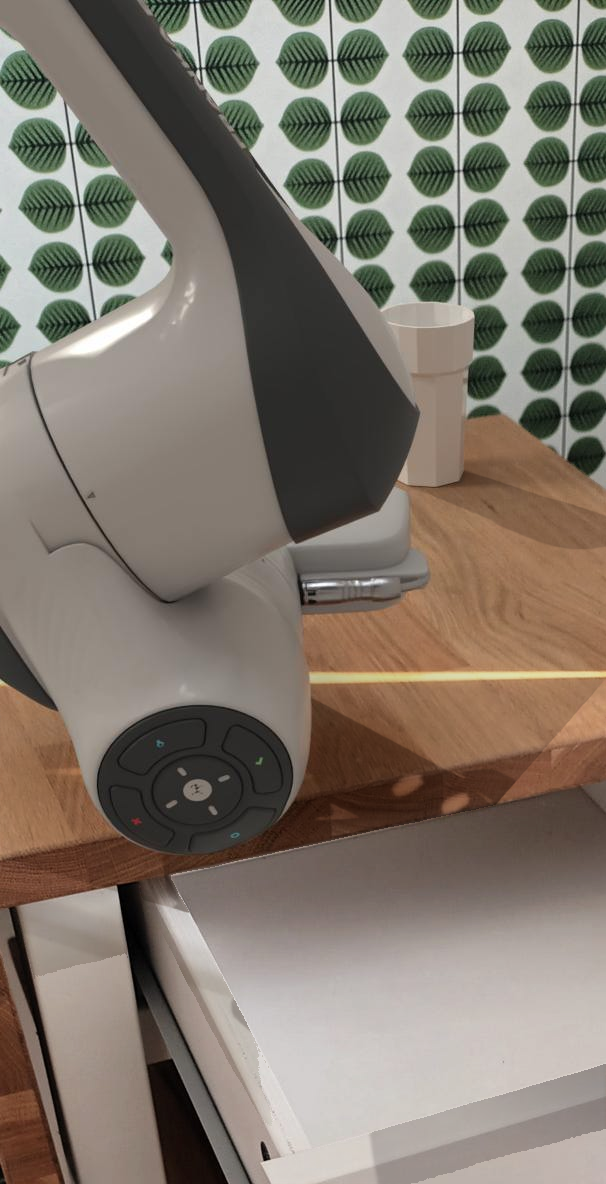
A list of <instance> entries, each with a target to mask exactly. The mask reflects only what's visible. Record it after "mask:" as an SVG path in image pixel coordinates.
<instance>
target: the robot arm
mask: <svg viewBox="0 0 606 1184" xmlns="http://www.w3.org/2000/svg"><path fill="white" fill-rule="evenodd" d="M0 28H1V29H2V30H4V31H5V32H6V33H7V34H9V35H10V36H11V37H12V38H14V39H15V40H16V42H17V43H19V45H20V46H22V48H23V49H24V50H25V51H26V53H27V54H28V55H29V56H30V57H31V59H32V60H33V61H34V62H35V63H36V65H37V66H38V67H39V69H40V70H41V72H42V73H43V74H44V76H45V78H47V80H48V81H49V82H50V84H51V85H52V86H53V88H54V89H55V90H56V92H57V93H58V94H59V96H60V97H61V98H62V100H63V101H64V103H65V105H67V107H68V108H69V109H70V111H71V112H72V113H73V115H74V116H75V117H76V119H77V120H78V121H79V123H80V125H82V127H83V128H84V129H85V131H86V132H87V134H88V135H89V137H90V138H91V139H92V141H94V143H95V144H96V145H97V147H98V149H99V150H100V151H101V153H102V154H103V155H104V156H105V158H106V159H107V161H108V162H109V164H111V166H112V167H113V169H114V170H115V172H117V174H118V176H119V177H120V178H121V180H122V181H123V182H124V183H125V185H126V186H127V188H128V189H129V190H130V192H131V193H132V194H133V195H134V198H136V200H137V201H138V202H139V204H140V205H141V207H142V208H143V209H144V211H145V212H146V213H147V214H148V216H149V217H150V218H151V220H152V221H153V223H154V224H155V225H156V227H157V228H158V229H159V230H160V232H161V233H162V235H163V236H164V237H165V239H166V240H167V242H168V243H169V245H170V247H171V249H172V250H171V251H172V260H171V261H172V263H171V266H170V268H169V270H168V272H167V274H166V275H165V276H164V277H163V279H162V280H161V281H160V282H158V283H157V284H156V285H155V286H154V287H152V288H151V289H148V291H145V292H144V293H142V294H141V295H138V296H137V297H135V298H133V299H130V301H128V302H126V303H124V304H122V305H120V306H119V307H117V308H115V309H113V310H111V311H109V312H107V313H106V314H104V315H102V316H100V317H99V318H96V319H95V320H93V321H92V322H89V323H87V324H86V325H84V326H82V327H80V328H78V329H77V330H74V331H73V332H71V333H69V334H67V335H66V336H64V337H62V338H60V339H58V340H57V341H54V342H53V343H51V344H49V345H47V346H45V347H43V348H42V349H40V350H38V351H37V350H32V351H30V352H28V353H27V354H25V355H23V356H21V357H20V358H18V359H16V360H14V361H12V362H10V363H8V364H7V365H5V366H3V367H1V368H0V681H1V682H2V683H4V684H5V685H7V686H9V687H11V688H12V689H14V690H15V691H17V692H18V693H20V694H21V695H24V696H25V697H27V698H28V699H30V700H32V701H33V702H35V703H37V704H39V705H41V706H43V707H45V708H47V709H49V710H51V711H55V712H58V713H59V714H60V717H61V719H62V721H63V723H64V725H65V727H66V729H67V731H68V735H69V737H70V739H71V742H72V746H73V747H74V750H75V751H74V752H75V755H76V759H77V762H78V766H79V770H80V774H81V777H82V780H83V782H84V785H85V789H86V791H87V793H88V795H89V797H90V799H91V801H92V803H93V805H94V807H95V808H96V809H97V811H98V812H99V813H100V815H101V816H102V817H103V819H104V821H106V823H107V824H108V825H109V826H110V827H111V829H113V830H114V831H115V832H116V833H118V834H119V835H120V836H122V837H123V838H125V839H126V840H128V841H129V842H131V843H132V844H136V845H138V846H140V847H142V848H145V849H148V850H151V851H154V852H157V853H162V854H168V855H179V856H202V855H211V854H215V853H216V854H217V853H220V852H223V851H226V850H229V849H232V848H234V847H237V846H240V845H242V844H245V843H247V842H249V841H251V840H253V839H254V838H255V839H256V837H258V836H260V835H262V834H263V833H265V832H266V831H268V830H269V829H271V828H272V827H273V826H275V825H276V823H278V822H279V821H280V819H282V817H283V816H284V815H285V814H286V812H287V811H288V810H289V808H290V807H291V806H292V804H293V802H294V801H295V799H296V797H297V795H298V793H299V791H300V789H301V787H302V784H303V782H304V778H305V776H306V772H307V771H306V770H307V766H308V761H309V757H310V749H311V737H312V694H311V693H312V692H311V678H310V671H309V665H308V660H307V656H306V652H305V650H304V640H305V639H304V636H305V635H304V633H305V632H304V631H305V630H304V620H303V616H314V615H315V616H316V615H328V614H329V615H332V614H335V615H336V614H350V613H351V614H352V613H367V612H376V611H383V610H386V609H390V608H393V607H395V606H397V605H398V604H399V603H400V602H402V601H403V600H404V598H405V596H406V595H407V593H408V592H412V591H416V590H417V591H418V590H424V589H426V588H427V587H428V586H429V583H430V580H431V575H432V573H431V570H430V566H429V563H428V561H427V557H426V555H425V554H424V552H422V551H421V550H419V549H417V548H414V547H412V528H411V507H410V504H411V503H410V498H409V494H408V493H407V491H405V490H404V489H401V488H399V487H397V486H396V483H397V481H399V480H398V478H399V475H400V473H401V471H402V469H403V466H404V464H405V461H406V459H407V456H408V454H409V451H410V448H411V445H412V442H413V439H414V436H415V432H416V429H417V425H418V421H419V417H420V411H419V408H418V406H417V404H416V402H415V393H414V388H413V382H412V378H411V375H410V371H409V368H408V365H407V362H406V360H405V357H404V354H403V352H402V350H401V348H400V345H399V343H398V341H397V339H396V337H395V335H394V333H393V331H392V329H391V328H390V326H389V324H388V322H387V321H386V319H385V318H384V316H383V314H382V313H381V311H380V310H381V309H379V307H378V305H377V303H376V302H375V301H374V300H373V298H372V297H371V295H370V294H369V293H368V292H367V291H366V289H365V288H364V287H363V285H362V284H361V283H360V282H359V280H357V278H356V277H355V276H354V275H353V274H352V273H351V272H350V271H349V270H348V268H347V267H346V266H345V265H344V264H343V263H342V262H341V261H340V260H339V258H337V256H335V255H334V253H332V252H331V250H330V249H329V248H328V247H327V246H325V244H324V243H323V242H322V241H321V240H320V239H319V238H318V237H317V236H316V235H315V234H314V233H313V232H312V231H311V230H310V229H309V228H308V227H307V226H306V225H305V224H304V223H303V222H302V220H301V219H300V218H299V217H298V216H297V215H296V214H295V213H294V211H293V210H292V208H291V207H290V206H289V204H288V203H287V202H286V200H285V199H284V198H283V196H282V195H281V193H280V192H279V190H278V189H277V188H276V187H275V185H274V184H273V182H272V181H271V180H270V178H269V176H268V175H267V174H266V173H265V171H264V169H263V168H262V167H261V166H260V164H259V162H258V161H257V160H256V159H255V157H254V155H253V154H252V153H251V151H250V150H249V149H248V147H247V146H246V144H245V143H244V141H243V139H242V138H241V137H240V135H239V134H238V133H237V131H236V130H235V128H234V127H233V126H232V124H231V123H230V121H229V120H228V118H227V117H226V116H225V114H224V113H223V112H222V110H221V109H220V107H219V106H218V104H217V103H216V101H215V100H214V98H213V97H212V96H211V94H210V93H209V91H208V90H207V89H206V87H205V86H204V84H203V82H201V79H199V78H198V76H197V75H196V73H195V72H194V70H193V69H192V67H191V66H190V65H189V63H188V61H187V60H186V59H185V58H184V56H183V54H182V53H181V52H180V50H179V48H177V46H176V45H175V43H174V41H172V39H171V37H170V36H169V35H168V33H167V32H166V31H165V29H164V28H163V26H162V25H161V23H160V22H159V20H158V19H157V17H156V16H155V15H154V13H153V12H152V10H151V9H150V8H149V6H148V5H147V4H146V2H145V0H0Z"/></svg>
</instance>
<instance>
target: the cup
mask: <svg viewBox="0 0 606 1184" xmlns="http://www.w3.org/2000/svg"><path fill="white" fill-rule="evenodd" d="M379 310H380V311H381V313H382V314H383V316H384V318H385V319H386V321H387V322H388V324H389V326H390V328H391V329H392V331H393V333H394V335H395V337H396V339H397V341H398V343H399V345H400V348H401V350H402V352H403V354H404V357H405V360H406V362H407V365H408V368H409V371H410V375H411V378H412V382H413V388H414V393H415V402H416V404H417V406H418V408H419V411H420V417H419V421H418V425H417V429H416V432H415V436H414V439H413V442H412V445H411V448H410V451H409V454H408V456H407V459H406V461H405V464H404V466H403V469H402V471H401V473H400V475H399V478H398V480H397V481H399V482H400V483H402V484H405V485H406V486H412V487H413V486H414V487H429V488H437V487H441V486H446V485H449V484H453V483H457V482H460V481H461V478H462V476H463V474H464V472H465V441H466V422H467V405H468V403H467V402H468V386H469V385H468V384H469V366H470V365H471V364H472V363H473V360H474V339H475V338H474V337H475V319H476V318H475V317H476V316H475V313H474V311H473V310H471V309H470V308H468V307H467V306H464V305H459V304H455V303H449V302H440V301H413V302H405V303H404V302H403V303H396V304H393V305H389V306H386V307H383V308H382V309H379Z"/></svg>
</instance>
